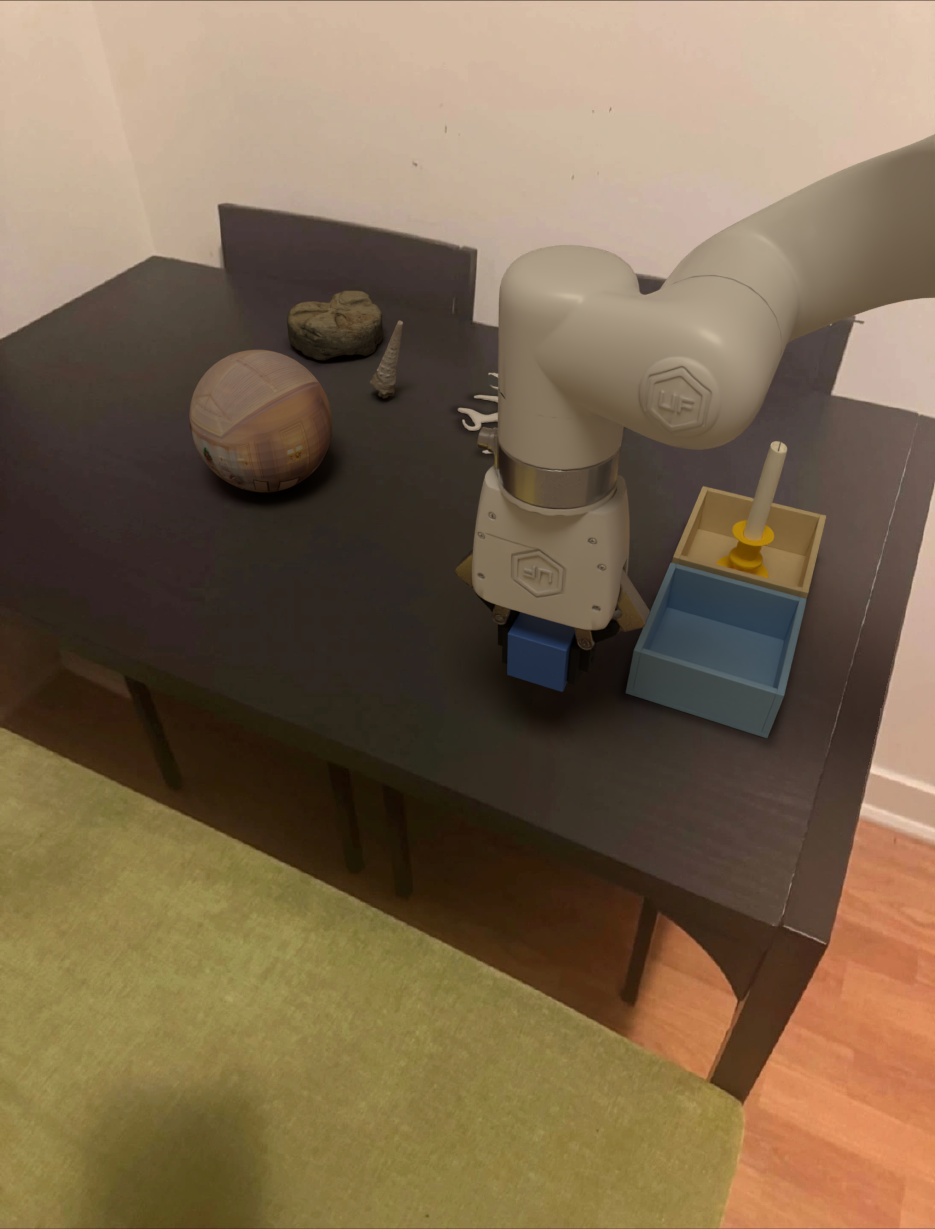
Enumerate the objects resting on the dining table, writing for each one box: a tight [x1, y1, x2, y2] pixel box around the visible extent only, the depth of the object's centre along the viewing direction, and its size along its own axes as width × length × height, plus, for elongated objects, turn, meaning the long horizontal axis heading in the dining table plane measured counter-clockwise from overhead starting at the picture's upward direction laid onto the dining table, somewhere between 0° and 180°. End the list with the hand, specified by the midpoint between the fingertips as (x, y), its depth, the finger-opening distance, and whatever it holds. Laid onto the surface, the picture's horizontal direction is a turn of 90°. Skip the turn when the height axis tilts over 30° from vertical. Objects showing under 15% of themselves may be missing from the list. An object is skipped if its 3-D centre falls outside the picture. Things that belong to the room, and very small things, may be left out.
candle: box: [716, 440, 788, 578], centre depth 79 cm, size 5×5×16 cm
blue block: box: [506, 612, 575, 693], centre depth 64 cm, size 4×4×4 cm
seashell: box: [369, 320, 404, 399], centre depth 106 cm, size 3×5×11 cm, turn 70°
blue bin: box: [625, 562, 808, 739], centre depth 75 cm, size 12×12×6 cm
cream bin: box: [671, 485, 827, 599], centre depth 83 cm, size 12×12×6 cm
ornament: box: [188, 349, 333, 493], centre depth 92 cm, size 15×15×15 cm
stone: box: [286, 290, 384, 361], centre depth 119 cm, size 13×13×5 cm
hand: (545, 660), depth 65 cm, fingers closed on blue block, 4 cm apart
